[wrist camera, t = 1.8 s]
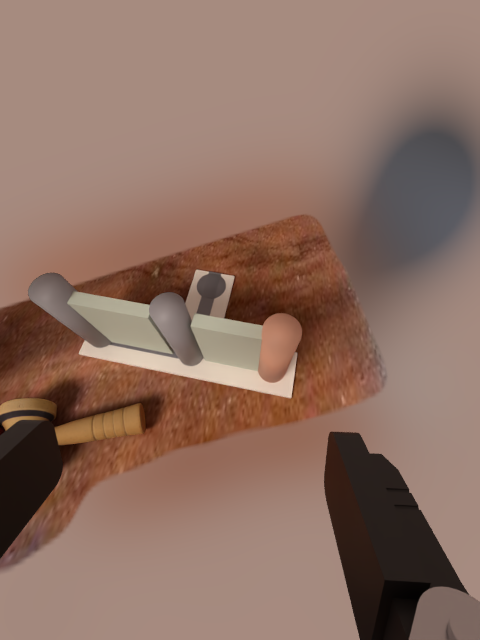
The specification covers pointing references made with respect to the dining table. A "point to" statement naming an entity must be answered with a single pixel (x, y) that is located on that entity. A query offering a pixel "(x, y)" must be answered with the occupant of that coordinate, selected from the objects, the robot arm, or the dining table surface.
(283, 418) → the dining table surface
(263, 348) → the gate
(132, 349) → the board
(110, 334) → the fence fixed
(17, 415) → the kendama
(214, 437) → the dining table surface
